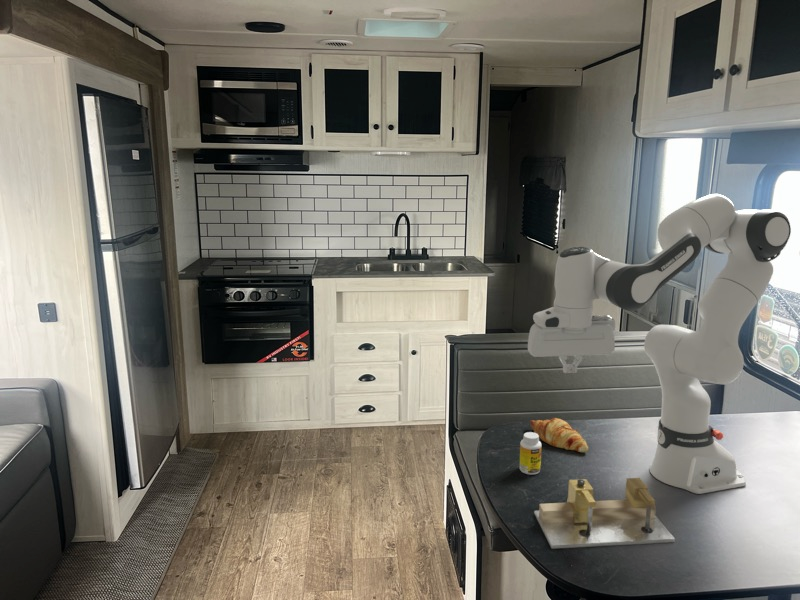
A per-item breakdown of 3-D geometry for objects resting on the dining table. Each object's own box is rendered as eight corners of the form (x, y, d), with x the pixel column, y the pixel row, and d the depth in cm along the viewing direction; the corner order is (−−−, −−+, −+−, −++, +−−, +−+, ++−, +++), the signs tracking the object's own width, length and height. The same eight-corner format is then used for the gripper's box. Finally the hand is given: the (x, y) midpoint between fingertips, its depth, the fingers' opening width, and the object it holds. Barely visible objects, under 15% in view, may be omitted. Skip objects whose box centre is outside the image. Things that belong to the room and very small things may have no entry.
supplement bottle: (530, 477, 154) (531, 441, 152) (515, 469, 159) (515, 434, 156) (545, 471, 157) (546, 436, 155) (529, 463, 162) (531, 428, 159)
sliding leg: (583, 508, 138) (585, 475, 136) (599, 533, 128) (601, 497, 126) (566, 509, 137) (568, 475, 135) (581, 534, 128) (583, 498, 126)
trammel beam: (647, 508, 138) (649, 477, 136) (666, 531, 129) (669, 499, 127) (538, 513, 137) (539, 482, 135) (550, 538, 128) (551, 504, 126)
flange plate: (646, 508, 139) (646, 504, 139) (674, 541, 127) (675, 538, 127) (534, 513, 138) (534, 510, 138) (551, 548, 125) (551, 544, 125)
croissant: (592, 463, 168) (602, 436, 169) (574, 457, 162) (584, 430, 162) (535, 435, 185) (544, 411, 185) (516, 429, 179) (526, 405, 179)
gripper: (610, 311, 142) (606, 366, 145) (526, 314, 141) (525, 369, 144) (621, 318, 136) (617, 375, 139) (534, 321, 135) (532, 378, 138)
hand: (569, 372), depth 141 cm, fingers closed
